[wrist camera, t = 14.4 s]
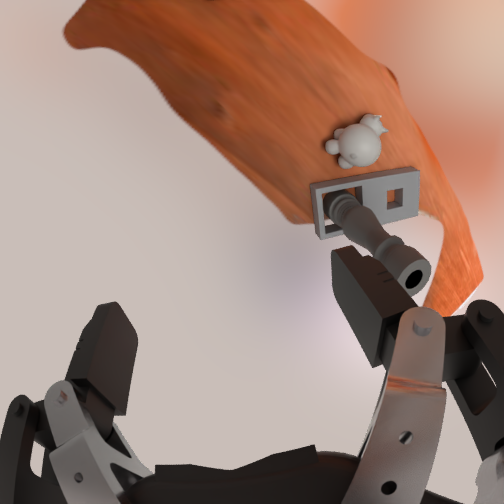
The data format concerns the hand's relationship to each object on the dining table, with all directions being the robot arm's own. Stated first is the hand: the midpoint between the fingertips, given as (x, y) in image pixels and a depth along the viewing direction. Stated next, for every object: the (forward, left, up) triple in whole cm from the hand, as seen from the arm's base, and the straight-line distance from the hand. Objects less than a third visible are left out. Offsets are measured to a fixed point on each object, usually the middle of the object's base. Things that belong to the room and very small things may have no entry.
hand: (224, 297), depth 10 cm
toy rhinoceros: (+3, +24, -38) cm, 45 cm away
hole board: (+16, +26, -38) cm, 49 cm away
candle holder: (+15, +20, -38) cm, 46 cm away
